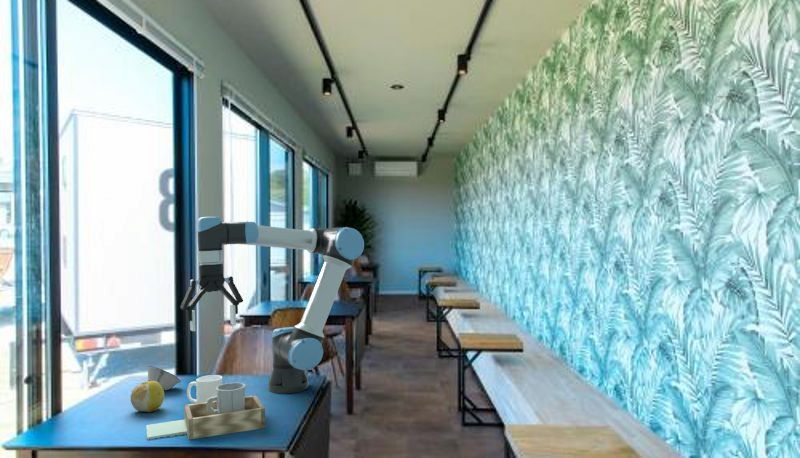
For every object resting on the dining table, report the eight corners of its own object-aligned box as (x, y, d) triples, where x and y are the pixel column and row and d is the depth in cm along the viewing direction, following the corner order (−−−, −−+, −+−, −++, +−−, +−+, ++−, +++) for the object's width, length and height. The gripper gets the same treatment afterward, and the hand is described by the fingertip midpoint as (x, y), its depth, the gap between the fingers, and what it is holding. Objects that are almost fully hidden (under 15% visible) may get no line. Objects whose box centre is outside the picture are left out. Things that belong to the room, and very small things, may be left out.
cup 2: (225, 434, 161) (224, 393, 161) (204, 428, 166) (204, 389, 166) (252, 423, 170) (251, 384, 170) (232, 418, 174) (231, 380, 174)
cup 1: (216, 412, 180) (216, 381, 180) (181, 412, 181) (181, 381, 181) (226, 404, 188) (226, 375, 188) (192, 404, 189) (192, 374, 189)
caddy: (255, 413, 179) (255, 395, 179) (265, 428, 165) (264, 408, 165) (184, 424, 169) (184, 405, 169) (188, 441, 156) (188, 419, 156)
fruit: (146, 405, 188) (146, 376, 188) (171, 408, 185) (171, 378, 185) (122, 415, 179) (121, 384, 179) (148, 418, 175) (148, 387, 175)
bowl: (180, 395, 207) (187, 383, 209) (161, 382, 197) (169, 370, 199) (154, 388, 211) (161, 376, 214) (134, 374, 201) (142, 362, 204)
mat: (185, 423, 171) (185, 419, 171) (188, 435, 161) (188, 430, 161) (146, 429, 166) (146, 425, 166) (146, 441, 156) (146, 437, 156)
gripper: (241, 260, 192) (244, 320, 193) (168, 266, 176) (171, 331, 177) (251, 260, 187) (253, 323, 187) (176, 267, 170) (179, 335, 171)
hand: (213, 327), depth 182 cm, fingers open, 13 cm apart
